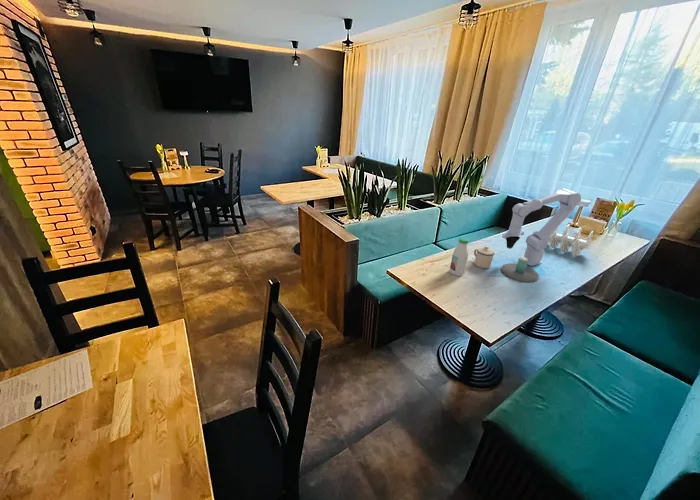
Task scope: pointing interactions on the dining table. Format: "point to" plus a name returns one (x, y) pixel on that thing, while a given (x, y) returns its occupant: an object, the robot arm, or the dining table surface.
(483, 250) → the teacup with lid
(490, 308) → the dining table surface
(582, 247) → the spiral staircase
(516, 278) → the slate plate
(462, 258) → the milk bottle
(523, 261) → the pepper shaker
